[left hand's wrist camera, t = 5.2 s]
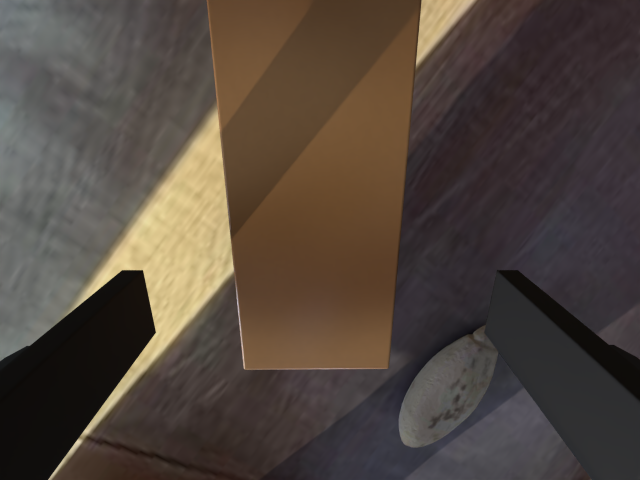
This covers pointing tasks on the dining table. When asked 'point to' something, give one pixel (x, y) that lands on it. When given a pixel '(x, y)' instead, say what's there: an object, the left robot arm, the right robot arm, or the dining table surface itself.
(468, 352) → the decorative stone
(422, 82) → the dining table surface
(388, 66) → the bar
